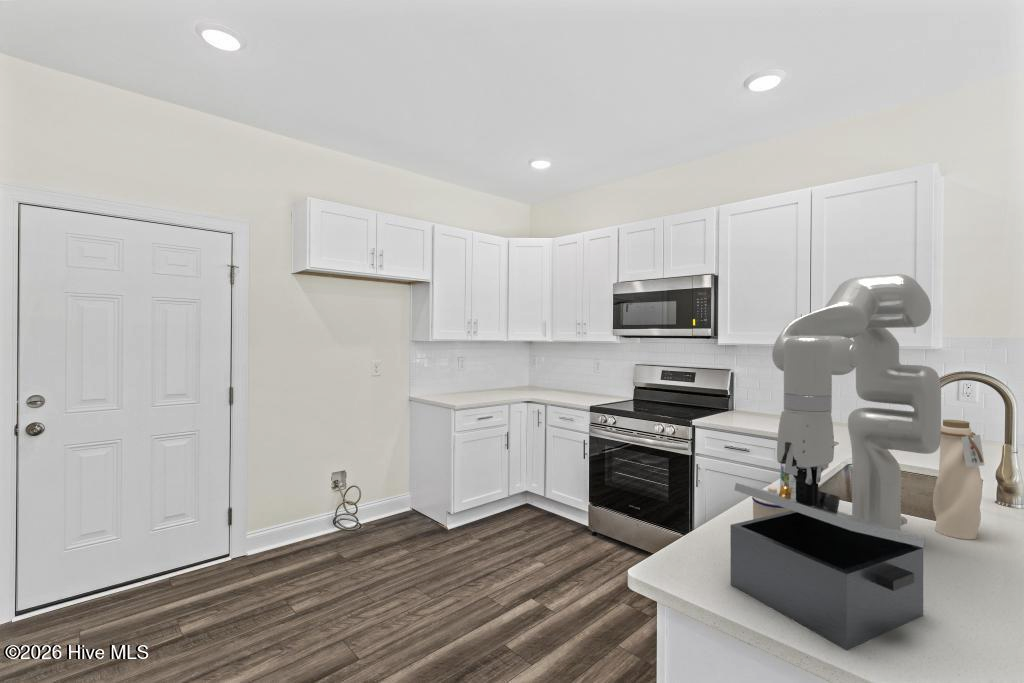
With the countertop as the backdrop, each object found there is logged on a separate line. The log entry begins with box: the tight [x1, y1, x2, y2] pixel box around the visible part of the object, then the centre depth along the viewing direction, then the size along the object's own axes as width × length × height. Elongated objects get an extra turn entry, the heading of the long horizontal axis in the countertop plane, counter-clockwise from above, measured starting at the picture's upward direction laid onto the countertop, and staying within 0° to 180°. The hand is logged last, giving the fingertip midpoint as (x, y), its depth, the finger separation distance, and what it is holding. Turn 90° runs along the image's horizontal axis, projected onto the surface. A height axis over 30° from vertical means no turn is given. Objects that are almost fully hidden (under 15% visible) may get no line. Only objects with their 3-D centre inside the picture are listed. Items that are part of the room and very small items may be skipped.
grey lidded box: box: [729, 510, 924, 651], centre depth 90 cm, size 22×27×12 cm
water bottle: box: [932, 419, 985, 540], centre depth 118 cm, size 10×9×28 cm
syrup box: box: [779, 463, 796, 498], centre depth 138 cm, size 6×6×14 cm
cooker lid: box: [734, 482, 926, 548], centre depth 90 cm, size 22×22×4 cm
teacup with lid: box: [751, 486, 791, 520], centre depth 120 cm, size 12×9×12 cm
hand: (806, 503), depth 88 cm, fingers closed
